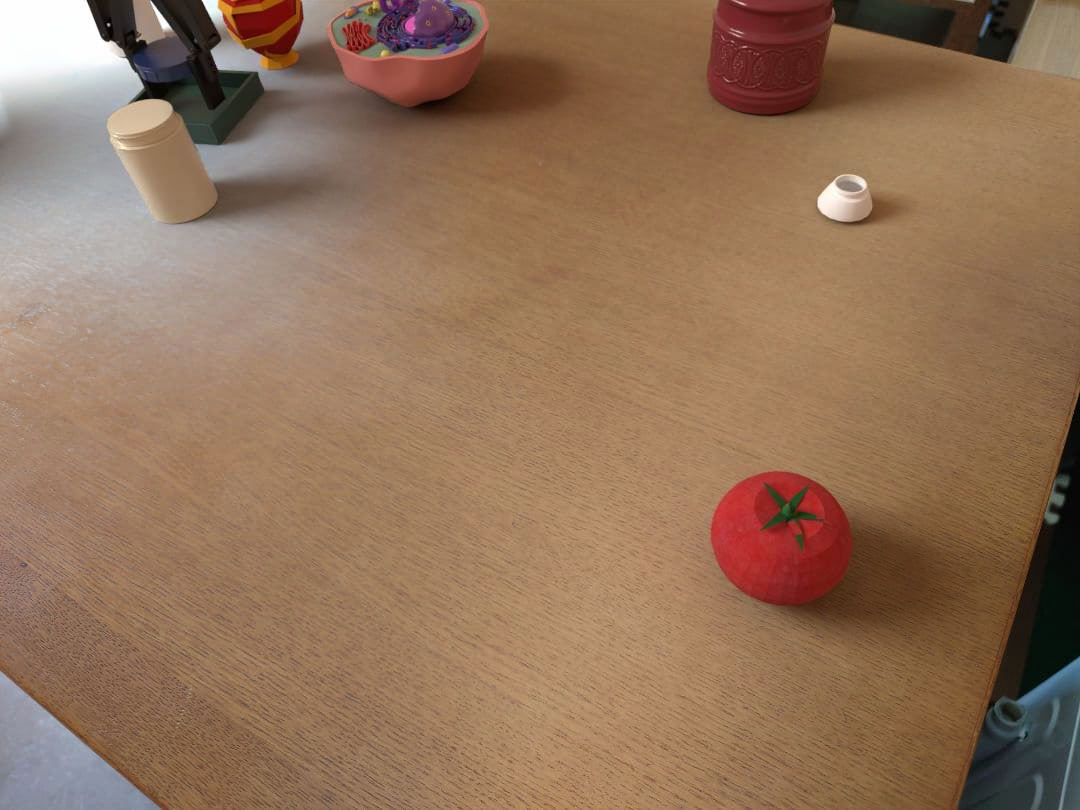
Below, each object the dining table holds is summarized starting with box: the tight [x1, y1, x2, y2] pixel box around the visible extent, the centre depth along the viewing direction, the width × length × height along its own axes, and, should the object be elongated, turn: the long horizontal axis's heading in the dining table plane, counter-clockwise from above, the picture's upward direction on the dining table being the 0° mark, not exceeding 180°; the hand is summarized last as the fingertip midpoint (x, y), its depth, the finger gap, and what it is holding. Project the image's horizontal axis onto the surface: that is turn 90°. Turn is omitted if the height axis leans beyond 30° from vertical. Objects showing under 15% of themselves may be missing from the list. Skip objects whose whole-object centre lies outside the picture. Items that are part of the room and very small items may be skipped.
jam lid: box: [133, 35, 197, 83], centre depth 91 cm, size 8×8×2 cm
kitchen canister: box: [706, 0, 836, 115], centre depth 84 cm, size 13×13×18 cm
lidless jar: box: [817, 173, 873, 223], centre depth 75 cm, size 5×3×5 cm
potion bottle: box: [217, 0, 305, 71], centre depth 98 cm, size 10×10×15 cm
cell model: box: [326, 0, 490, 108], centre depth 92 cm, size 17×20×11 cm
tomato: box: [709, 470, 853, 607], centre depth 50 cm, size 9×9×8 cm
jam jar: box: [106, 99, 219, 225], centre depth 81 cm, size 7×7×10 cm
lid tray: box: [126, 69, 265, 146], centre depth 96 cm, size 13×12×3 cm
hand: (188, 100), depth 95 cm, fingers closed on jam lid, 8 cm apart
